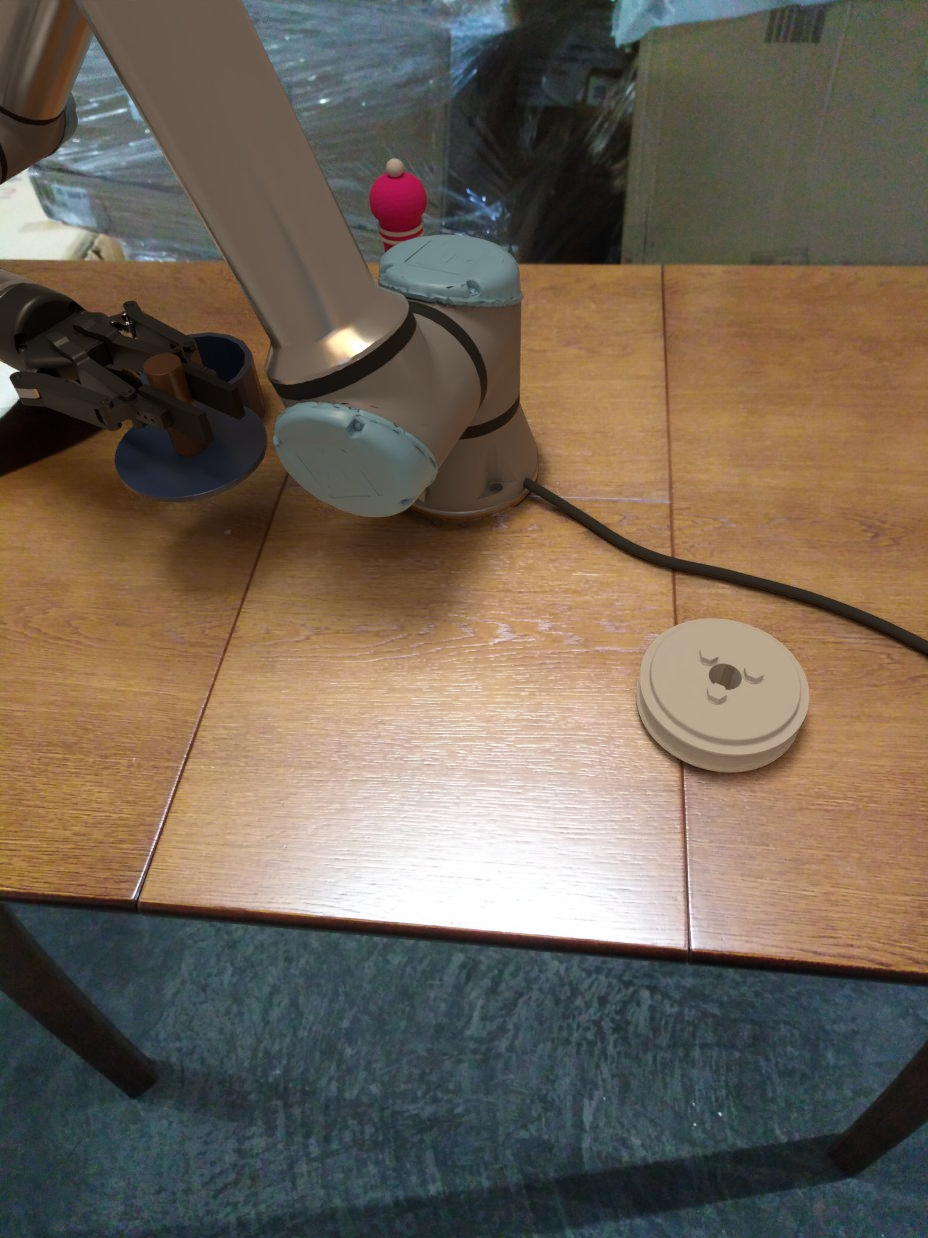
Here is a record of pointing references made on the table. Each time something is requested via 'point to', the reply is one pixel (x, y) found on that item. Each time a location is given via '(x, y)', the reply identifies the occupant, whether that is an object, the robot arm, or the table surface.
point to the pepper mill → (398, 205)
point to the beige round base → (721, 695)
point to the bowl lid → (188, 447)
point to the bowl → (230, 366)
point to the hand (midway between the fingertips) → (222, 415)
